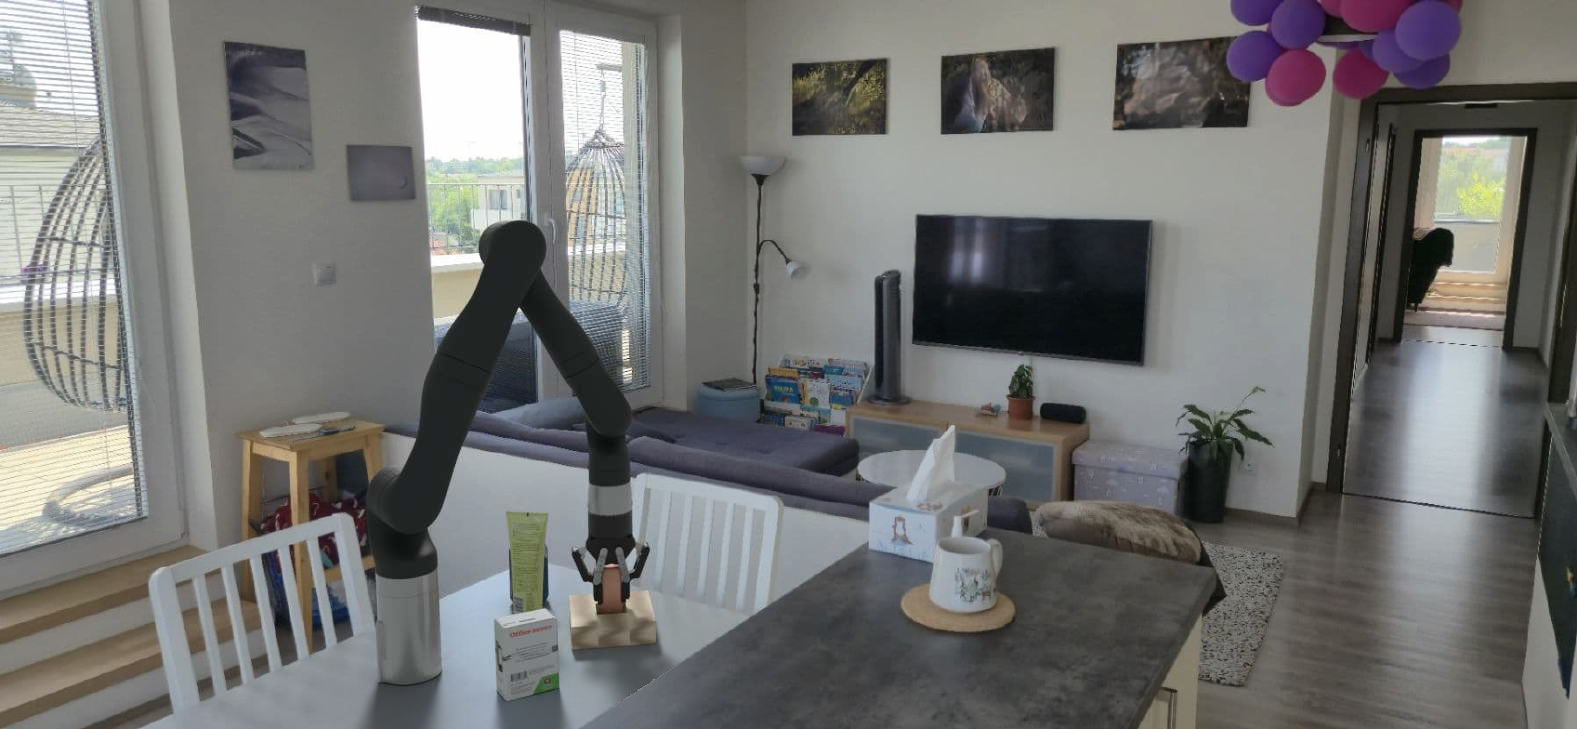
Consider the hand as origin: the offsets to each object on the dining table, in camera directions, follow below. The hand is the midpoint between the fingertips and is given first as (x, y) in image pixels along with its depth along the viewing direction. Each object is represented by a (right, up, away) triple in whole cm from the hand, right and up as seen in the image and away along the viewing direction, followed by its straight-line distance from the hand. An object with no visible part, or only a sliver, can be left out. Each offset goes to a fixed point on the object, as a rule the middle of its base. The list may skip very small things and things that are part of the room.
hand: (611, 601), depth 192 cm
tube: (-15, -4, +5) cm, 17 cm away
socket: (0, -5, +1) cm, 5 cm away
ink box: (-9, -9, -22) cm, 25 cm away
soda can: (-17, -3, +12) cm, 21 cm away
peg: (0, -2, 0) cm, 2 cm away
